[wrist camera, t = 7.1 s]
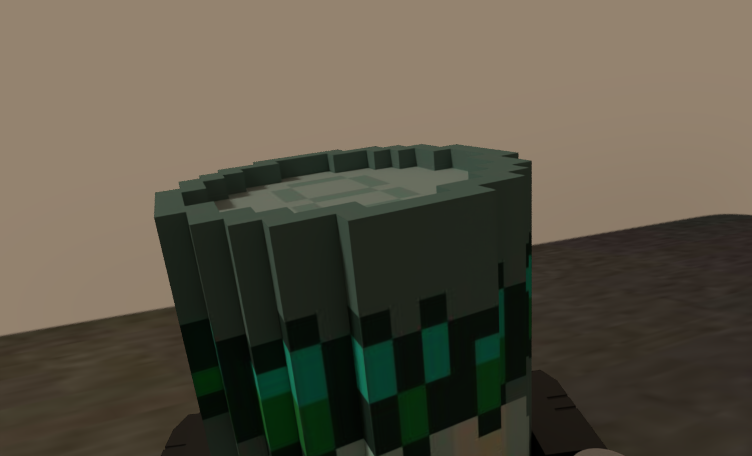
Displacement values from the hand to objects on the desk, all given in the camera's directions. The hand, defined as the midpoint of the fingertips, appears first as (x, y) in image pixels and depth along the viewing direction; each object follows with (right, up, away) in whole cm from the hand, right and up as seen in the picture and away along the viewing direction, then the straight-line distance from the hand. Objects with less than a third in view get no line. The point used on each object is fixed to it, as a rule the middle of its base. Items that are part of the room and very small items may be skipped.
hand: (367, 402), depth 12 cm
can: (+1, -9, 0) cm, 9 cm away
